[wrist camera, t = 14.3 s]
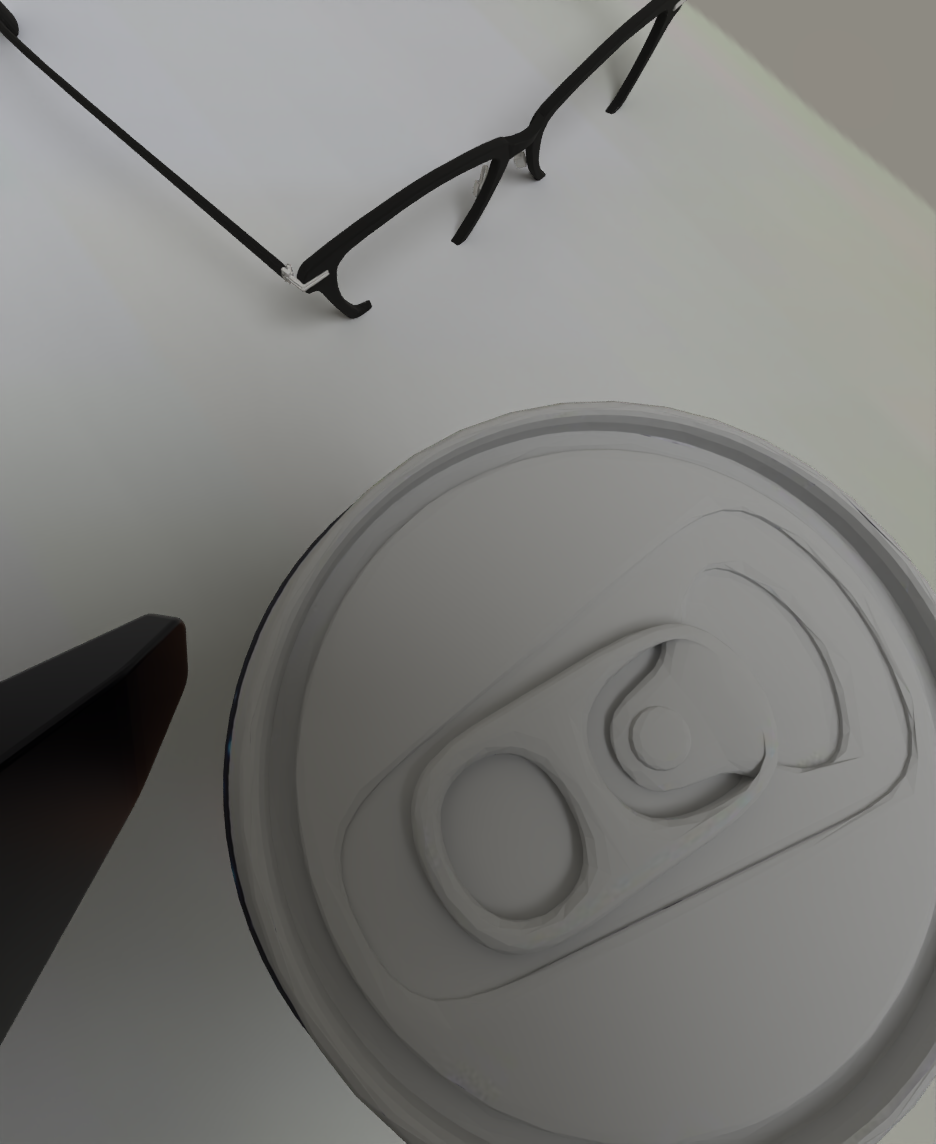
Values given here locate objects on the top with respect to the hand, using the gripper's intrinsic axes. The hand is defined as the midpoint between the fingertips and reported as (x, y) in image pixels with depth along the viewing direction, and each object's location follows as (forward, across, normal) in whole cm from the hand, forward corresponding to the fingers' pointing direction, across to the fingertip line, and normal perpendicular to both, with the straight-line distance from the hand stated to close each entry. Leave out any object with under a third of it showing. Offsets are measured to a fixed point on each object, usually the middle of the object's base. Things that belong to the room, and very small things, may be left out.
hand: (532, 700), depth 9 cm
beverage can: (+5, 0, +6) cm, 8 cm away
